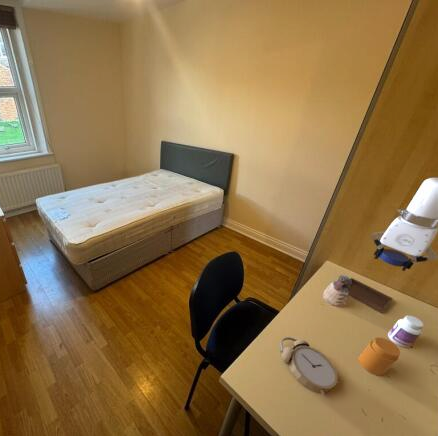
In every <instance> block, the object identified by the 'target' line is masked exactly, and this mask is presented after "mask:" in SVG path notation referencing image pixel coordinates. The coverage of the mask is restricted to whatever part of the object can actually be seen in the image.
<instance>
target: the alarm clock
mask: <svg viewBox="0 0 438 436" xmlns="http://www.w3.org/2000/svg"><path fill="white" fill-rule="evenodd" d="M287 340H289V341H292V346H285V347H284V346H283V343H284V341H287ZM280 349H281V350H280V353H281V359H282V361H283V362H284V363H285V364H288V367H289V369H290V372H291V374H292V375H293V377H294V378H295V380H296V381H297V382H299V383H300V384H301V385H302V386H303V387H305V388H307V389H308V390H309V391H311V392H314V393H317V394H321V395H322V396H323V397H326V396H325V393H327V392H329V391H331V389H333V388H334V387H335V386H336V385H337V383H341V381H340V380H339V379H338V374H337V370H336V367H335V366H334V364H333V363H332V361H330V359H329V358H328V357H327V356H326V355H325V354H324V353H322V352H321V351H319V350H318V349H316V348H314V347H312V346H310V344H309V342H307V341H306V340H304V339H299V338H298V339H295V338H293V337H289V336H288V337H287V336H286V337H283V338H282V340H281V341H280Z"/></svg>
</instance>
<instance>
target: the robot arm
mask: <svg viewBox="0 0 438 436" xmlns="http://www.w3.org/2000/svg"><path fill="white" fill-rule="evenodd" d="M396 213H397V214H400V215H398V216H397V217H396V218H394V220H393V221H392V222H391V223H390V225H389V226H388V227H387V229H386V230H383V231H378V232H373V233H371V234H370V236H371V238H372V240H373V242H374V244H375V246H376V250H375V251H374V253H373V255H374V257H373V259H375V260H378V259H379V258H380V257H379V255H380V254H381V252H382V251H383V250H384V249H386V247H389V248H391V249H392V250H395V251H398V252H401V253H403V254H407V255H410V258H409V260H408V261H407V263H406V264H405V266H402V268H401V271H403V272H406V270H407V269H408V270H410V269H411V268H412V266H413V265H415V264H416V263H421V262H428V261H434V260H438V255H437V253H436V252H435V251H434V250H433V248H432V247H431V244H432V242H433V241H434V239H435V238H436V236H437V235H438V177H429V178H427V179H424V181H423V182H422V183H421V185H420V186H419V188H418V189H417V191H416V193H415V194H414V195H413V198H412V200H411V201H410V202H409V204H408V206H407V207H406V208H398V210H397V212H396ZM379 237H381V238H379ZM425 253H426V254H427V255H424V254H425Z"/></svg>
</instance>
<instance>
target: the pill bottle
mask: <svg viewBox="0 0 438 436" xmlns="http://www.w3.org/2000/svg"><path fill="white" fill-rule="evenodd" d="M424 326H425V324H424V322H423V321H422V320H420V319H419V318H417V317H415V316H413V315H406V316H404V318H400V319H398V320H397V322H395V324H394V325H393V326H392V327H391V329H390V330H389V331H388V333H387V337H388V339H389V340H390V341H391V342H392V343H394V344H395V345H396V346H399V347H403V348H409V347H411V345H413V344H414V343H415V341H416V340H417V339H418V338H420V336H421V335H422V333H423V328H424Z"/></svg>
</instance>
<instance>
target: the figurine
mask: <svg viewBox="0 0 438 436" xmlns="http://www.w3.org/2000/svg"><path fill="white" fill-rule="evenodd" d="M350 279H351V278H350V277H349V276H347V275H339V277H338V278H337V280H336V281H331V283H329V284H328V286H327V287H326V288H325V290H323V294H322V297H323V300H325V302H327V303H328V304H330V306H331V305H332V306H334V307H337V308H342V307H345V306H346V304H347V302H348V299H349V297H350V296H349V290H348V288H351V287H350V285H351V284H352V283H353V282H352V281H351V280H350Z"/></svg>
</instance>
